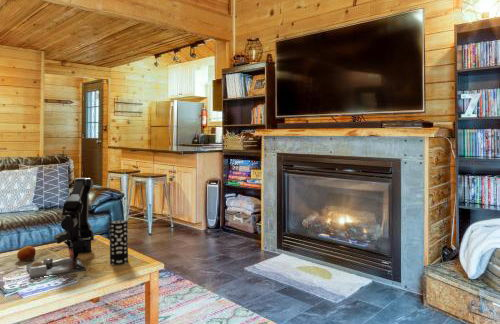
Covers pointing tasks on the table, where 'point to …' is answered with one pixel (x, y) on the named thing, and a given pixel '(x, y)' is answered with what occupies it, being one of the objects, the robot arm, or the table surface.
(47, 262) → the lever
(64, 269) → the base
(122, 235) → the spotted tube
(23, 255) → the fruit
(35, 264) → the wooden ball
